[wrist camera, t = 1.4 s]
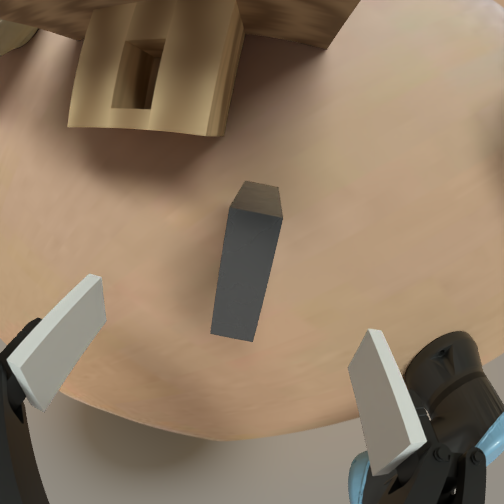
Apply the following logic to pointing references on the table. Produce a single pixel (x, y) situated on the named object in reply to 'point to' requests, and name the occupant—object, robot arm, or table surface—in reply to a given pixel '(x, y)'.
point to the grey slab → (246, 260)
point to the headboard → (169, 53)
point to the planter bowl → (14, 35)
